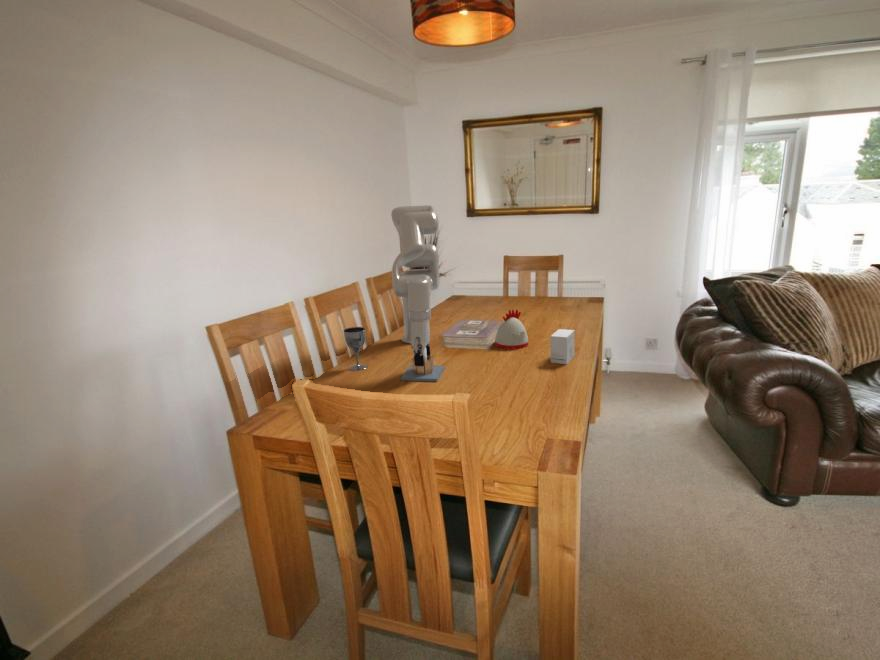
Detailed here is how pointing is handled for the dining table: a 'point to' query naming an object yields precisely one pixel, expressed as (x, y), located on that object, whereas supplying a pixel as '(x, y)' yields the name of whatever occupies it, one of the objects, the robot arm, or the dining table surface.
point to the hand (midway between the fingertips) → (422, 361)
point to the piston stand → (430, 377)
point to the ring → (424, 367)
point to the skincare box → (562, 346)
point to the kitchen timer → (511, 332)
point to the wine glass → (355, 344)
